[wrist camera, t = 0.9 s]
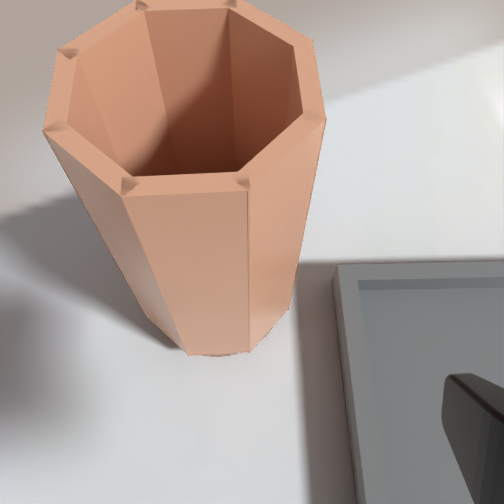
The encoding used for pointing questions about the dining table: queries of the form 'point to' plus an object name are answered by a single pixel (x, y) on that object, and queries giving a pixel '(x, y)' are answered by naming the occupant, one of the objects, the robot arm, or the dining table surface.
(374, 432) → the tray
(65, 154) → the cup
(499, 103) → the dining table surface
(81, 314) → the dining table surface
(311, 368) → the dining table surface
